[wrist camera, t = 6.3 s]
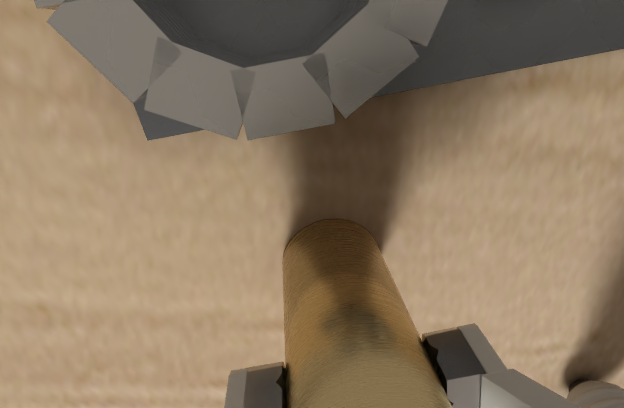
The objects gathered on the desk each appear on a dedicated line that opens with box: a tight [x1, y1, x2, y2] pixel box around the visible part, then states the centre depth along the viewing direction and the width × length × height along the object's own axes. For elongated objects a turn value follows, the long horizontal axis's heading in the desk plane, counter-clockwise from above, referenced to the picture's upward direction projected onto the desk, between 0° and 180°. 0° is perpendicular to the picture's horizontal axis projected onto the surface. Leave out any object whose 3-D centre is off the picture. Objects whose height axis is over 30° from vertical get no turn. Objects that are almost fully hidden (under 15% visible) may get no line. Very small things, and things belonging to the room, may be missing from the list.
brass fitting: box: [283, 219, 453, 408], centre depth 11 cm, size 5×5×10 cm
